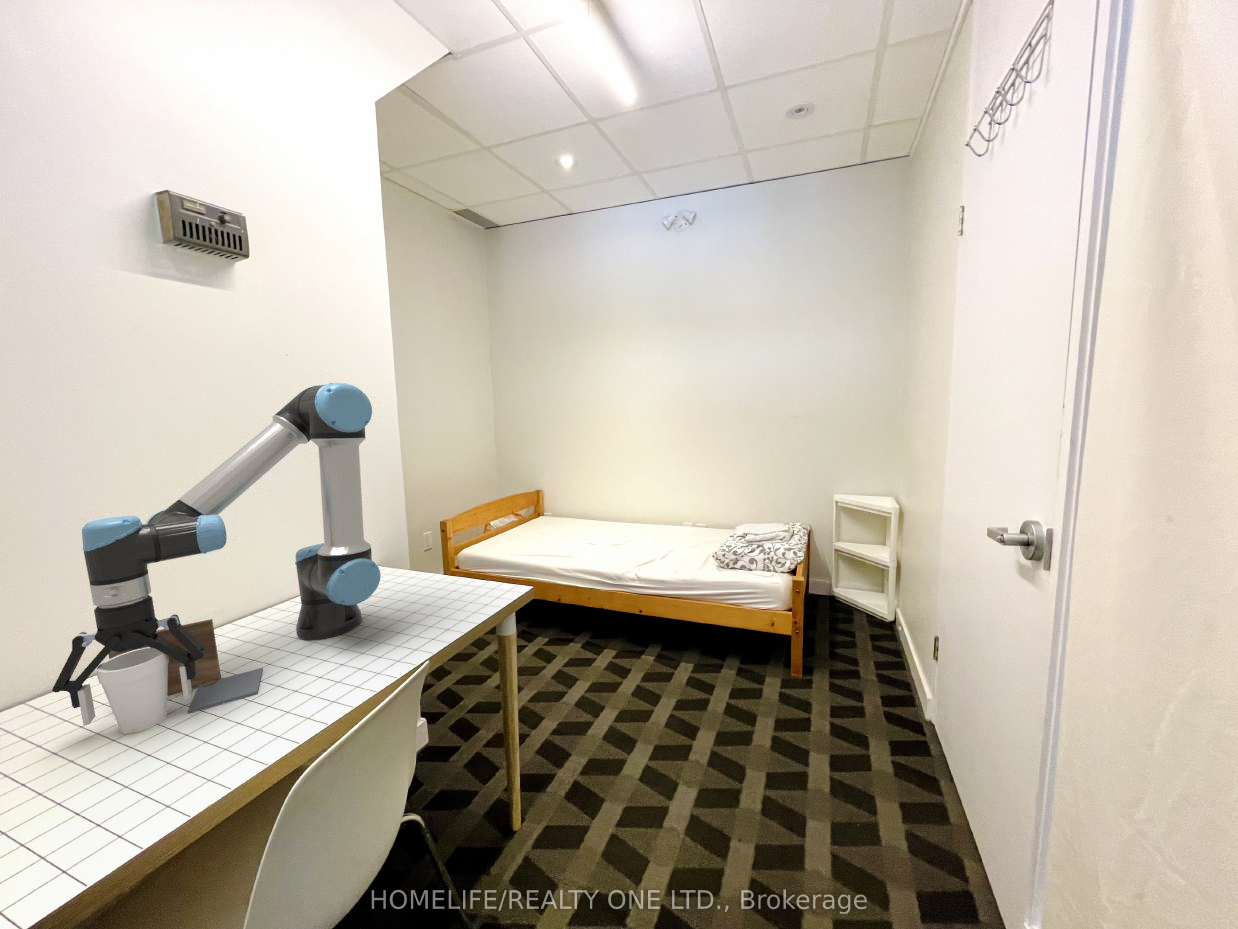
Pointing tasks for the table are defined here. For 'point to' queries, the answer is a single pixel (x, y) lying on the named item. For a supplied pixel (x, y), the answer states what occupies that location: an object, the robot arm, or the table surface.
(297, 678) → the table surface
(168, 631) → the screen
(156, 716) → the foam cup
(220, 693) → the mat
